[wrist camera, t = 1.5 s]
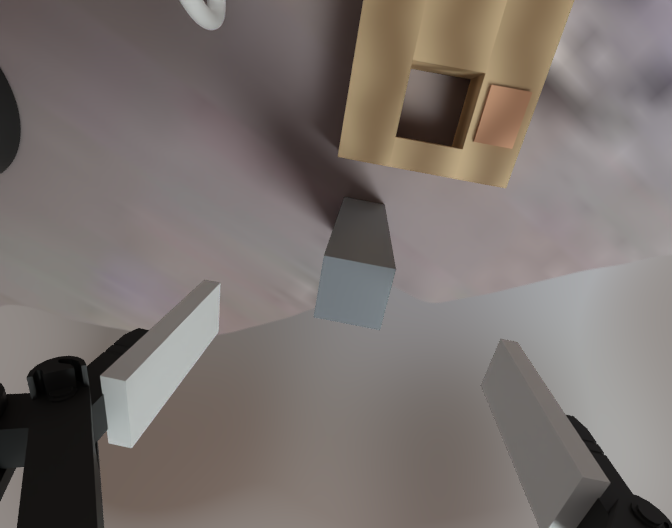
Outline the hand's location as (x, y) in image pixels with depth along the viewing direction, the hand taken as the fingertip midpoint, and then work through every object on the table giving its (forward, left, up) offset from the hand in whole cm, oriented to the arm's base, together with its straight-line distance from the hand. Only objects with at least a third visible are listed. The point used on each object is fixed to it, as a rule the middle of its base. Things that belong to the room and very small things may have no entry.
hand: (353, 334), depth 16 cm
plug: (0, 0, -20) cm, 20 cm away
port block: (+4, +17, -20) cm, 26 cm away
